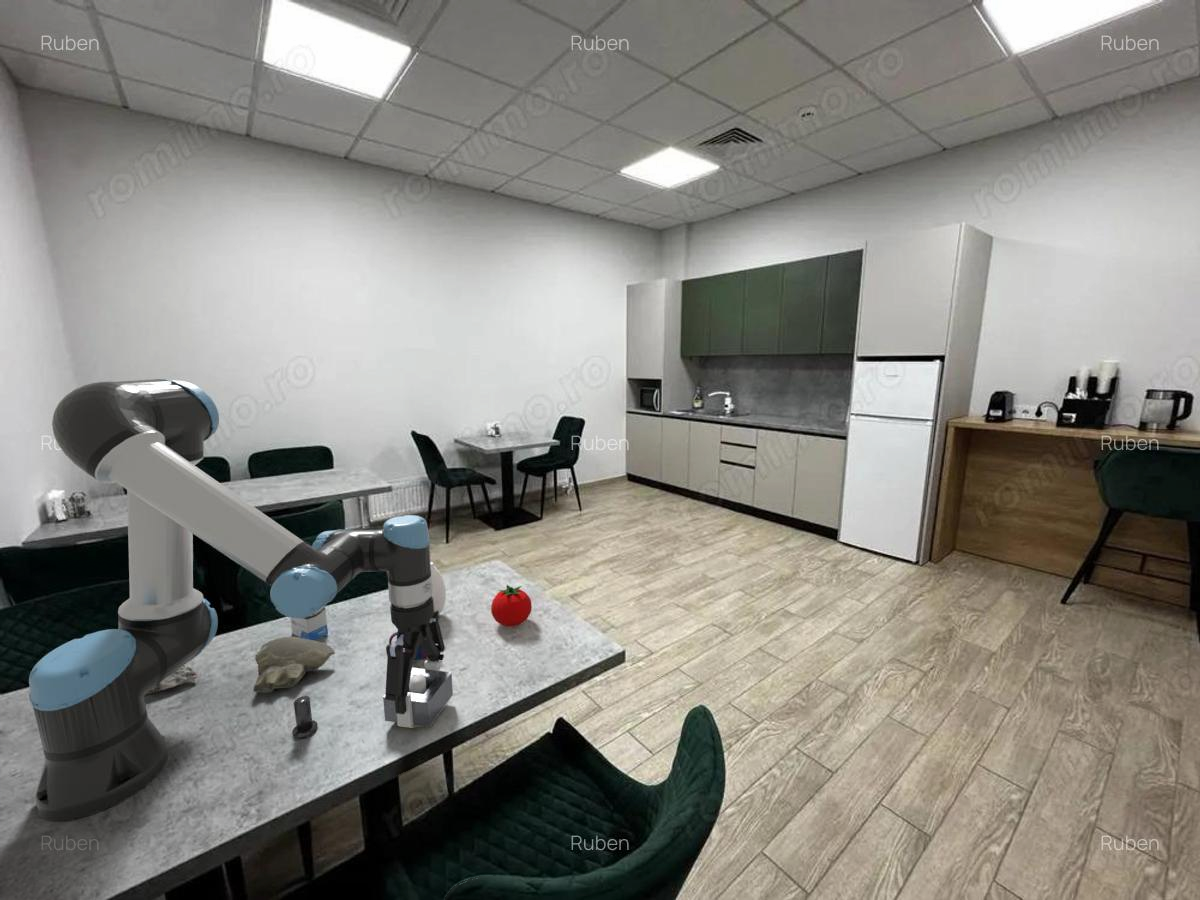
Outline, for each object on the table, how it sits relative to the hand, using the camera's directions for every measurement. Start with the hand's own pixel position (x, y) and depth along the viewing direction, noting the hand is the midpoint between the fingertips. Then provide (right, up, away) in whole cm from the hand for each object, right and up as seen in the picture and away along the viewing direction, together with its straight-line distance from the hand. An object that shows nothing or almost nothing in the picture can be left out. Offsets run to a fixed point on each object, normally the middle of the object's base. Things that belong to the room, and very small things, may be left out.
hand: (420, 707), depth 95 cm
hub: (0, -2, 0) cm, 2 cm away
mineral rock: (-59, 0, +9) cm, 59 cm away
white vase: (-10, +5, +36) cm, 38 cm away
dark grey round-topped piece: (-20, -2, -4) cm, 20 cm away
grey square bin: (0, 0, 0) cm, 0 cm away
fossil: (-31, 0, +11) cm, 33 cm away
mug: (-9, +2, +20) cm, 22 cm away
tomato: (+12, +4, +33) cm, 36 cm away
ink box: (-38, +3, +28) cm, 48 cm away
